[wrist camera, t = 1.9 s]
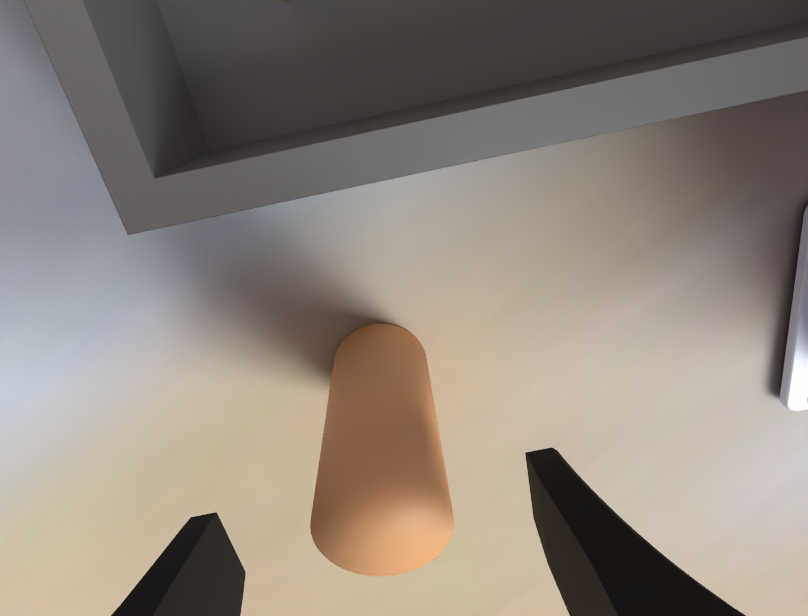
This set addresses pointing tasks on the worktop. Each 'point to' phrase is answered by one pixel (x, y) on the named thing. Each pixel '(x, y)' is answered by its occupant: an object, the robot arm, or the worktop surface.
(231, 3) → the tray
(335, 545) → the peg
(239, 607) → the robot arm
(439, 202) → the worktop surface
